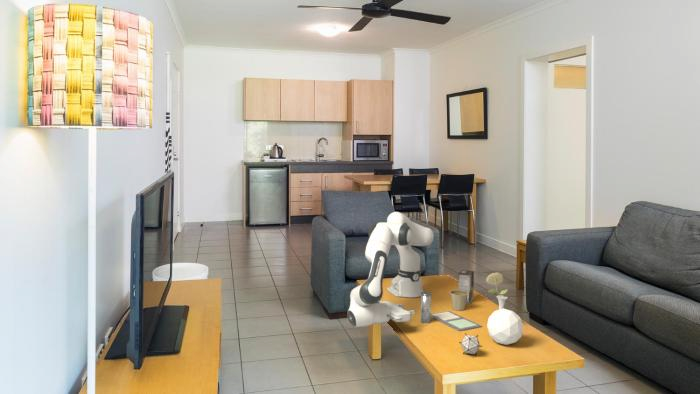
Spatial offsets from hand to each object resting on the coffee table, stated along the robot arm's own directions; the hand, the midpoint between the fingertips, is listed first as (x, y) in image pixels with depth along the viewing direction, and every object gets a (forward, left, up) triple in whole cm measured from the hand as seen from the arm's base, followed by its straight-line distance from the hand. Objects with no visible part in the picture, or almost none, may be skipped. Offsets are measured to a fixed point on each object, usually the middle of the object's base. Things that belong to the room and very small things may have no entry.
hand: (407, 308), depth 237 cm
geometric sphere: (+36, +25, -8) cm, 45 cm away
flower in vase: (+19, +38, -8) cm, 43 cm away
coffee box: (-18, +49, -8) cm, 53 cm away
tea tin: (0, +10, -8) cm, 13 cm away
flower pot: (-9, +37, -8) cm, 39 cm away
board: (+5, +23, -8) cm, 25 cm away
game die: (+39, +4, -8) cm, 40 cm away
